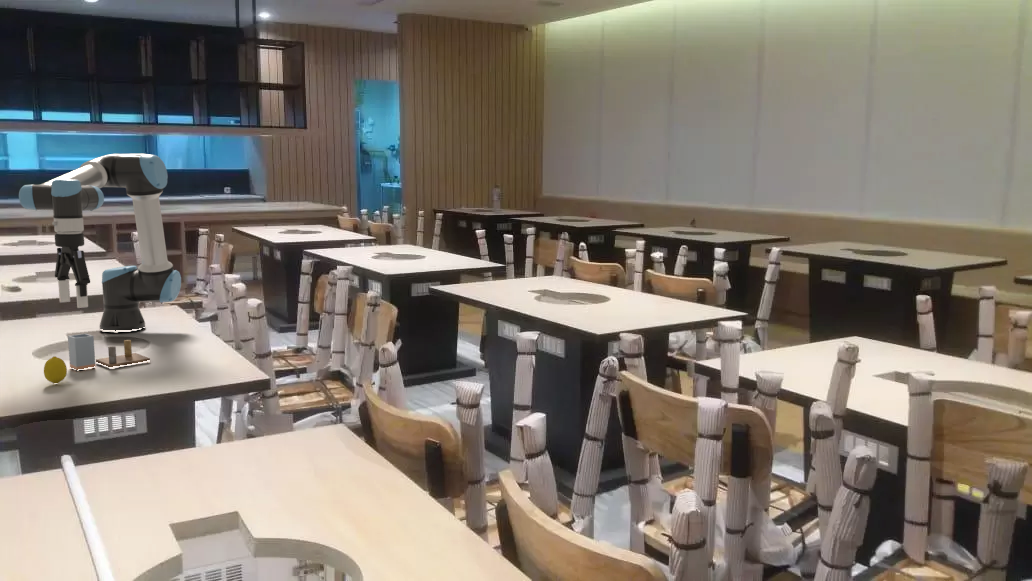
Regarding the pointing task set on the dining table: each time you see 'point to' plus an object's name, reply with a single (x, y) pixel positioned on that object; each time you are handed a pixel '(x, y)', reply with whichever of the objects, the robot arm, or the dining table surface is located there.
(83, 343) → the sleeve
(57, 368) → the lemon
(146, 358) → the pin board
